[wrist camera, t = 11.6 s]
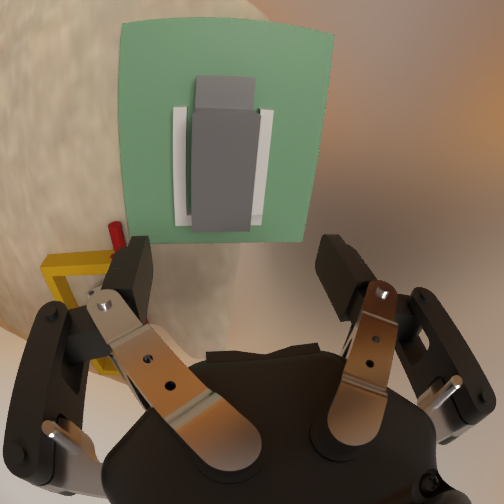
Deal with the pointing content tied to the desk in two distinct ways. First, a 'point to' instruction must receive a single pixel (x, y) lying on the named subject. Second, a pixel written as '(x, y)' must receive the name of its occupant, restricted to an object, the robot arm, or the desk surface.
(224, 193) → the grey stepped block
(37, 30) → the desk surface
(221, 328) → the desk surface
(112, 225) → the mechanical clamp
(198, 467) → the robot arm
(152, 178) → the green plate with u-rail
